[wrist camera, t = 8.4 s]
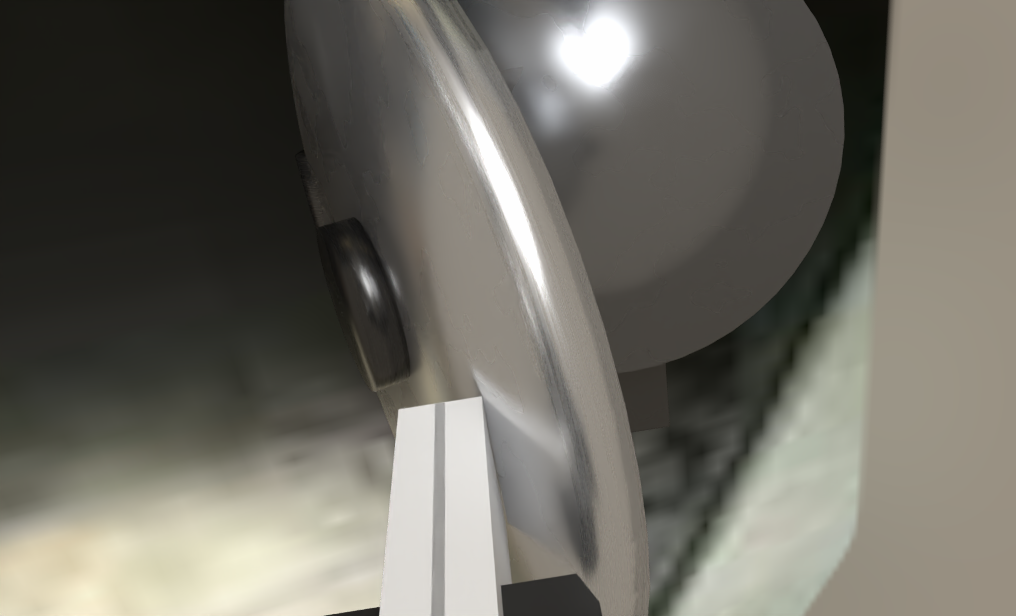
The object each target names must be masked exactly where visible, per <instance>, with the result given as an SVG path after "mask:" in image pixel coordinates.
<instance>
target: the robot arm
mask: <svg viewBox="0 0 1016 616" xmlns="http://www.w3.org/2000/svg"><path fill="white" fill-rule="evenodd" d="M326 616H602V612H601V607H600V603H599V601H598V600H597V598H596V597H595V596H594V595H593V593H592V592H591V591H590V590H589V588H588V587H587V586H586V585H585V583H584V582H583V581H582V580H581V578H580V577H579V576H578V575H577V573H576V574H570V575H563V576H557V577H551V578H545V579H538V580H532V581H526V582H520V583H514V584H512V579H511V569H510V559H509V549H508V539H507V529H506V522H505V517H504V511H503V506H502V501H501V496H500V490H499V485H498V480H497V474H496V469H495V464H494V459H493V453H492V448H491V443H490V437H489V432H488V427H487V422H486V416H485V411H484V406H483V401H482V396H481V397H474V398H468V399H462V400H456V401H450V402H442V403H436V404H430V405H423V406H417V407H411V408H405V409H399V411H398V421H397V432H396V442H395V453H394V464H393V474H392V485H391V495H390V506H389V517H388V527H387V538H386V548H385V559H384V570H383V580H382V591H381V602H380V607H376V608H370V609H364V610H357V611H351V612H345V613H338V614H332V615H326Z"/></svg>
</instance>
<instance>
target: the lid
mask: <svg viewBox="0 0 1016 616" xmlns="http://www.w3.org/2000/svg"><path fill="white" fill-rule="evenodd" d="M284 18H285V32H286V45H287V53H288V61H289V69H290V76H291V82H292V89H293V95H294V101H295V107H296V112H297V117H298V122H299V127H300V133H301V137H302V142H303V146H304V150H303V151H300V152H299V153H297V154H296V155H295V157H296V161H297V164H298V168H299V171H300V175H301V178H302V182H303V186H304V189H305V193H306V196H307V200H308V203H309V207H310V211H311V214H312V218H313V221H314V225H315V228H316V232H317V242H318V248H319V253H320V258H321V262H322V266H323V270H324V274H325V278H326V281H327V285H328V288H329V291H330V295H331V298H332V301H333V304H334V307H335V310H336V313H337V316H338V319H339V322H340V325H341V327H342V330H343V333H344V335H345V338H346V341H347V343H348V346H349V348H350V351H351V353H352V355H353V358H354V360H355V362H356V364H357V367H358V369H359V371H360V373H361V375H362V377H363V379H364V380H365V382H366V384H367V385H368V387H369V388H370V389H371V390H372V391H373V392H376V391H377V394H378V396H379V399H380V402H381V404H382V407H383V410H384V412H385V415H386V417H387V420H388V422H389V425H390V427H391V430H392V433H393V435H394V438H395V440H396V432H397V421H398V411H399V409H405V408H411V407H417V406H423V405H430V404H436V403H442V402H450V401H456V400H462V399H468V398H474V397H481V396H482V401H483V406H484V411H485V416H486V422H487V427H488V432H489V437H490V443H491V448H492V453H493V459H494V464H495V469H496V474H497V480H498V485H499V490H500V496H501V501H502V506H503V511H504V517H505V522H506V529H507V539H508V549H509V559H510V569H511V579H512V584H514V583H520V582H526V581H532V580H538V579H545V578H551V577H557V576H563V575H570V574H576V573H577V575H578V576H579V577H580V578H581V580H582V581H583V582H584V583H585V585H586V586H587V587H588V588H589V590H590V591H591V592H592V593H593V595H594V596H595V597H596V598H597V600H598V601H599V603H600V607H601V612H602V616H648V605H649V592H650V575H649V553H648V534H647V526H646V519H645V511H644V504H643V496H642V489H641V481H640V474H639V469H638V464H637V460H636V455H635V450H634V445H633V440H632V435H631V430H630V425H629V421H628V416H627V411H626V406H625V402H624V398H623V395H622V391H621V387H620V383H619V380H618V376H617V372H616V368H615V365H614V361H613V357H612V353H611V350H610V346H609V342H608V339H607V335H606V331H605V328H604V325H603V322H602V319H601V316H600V312H599V309H598V306H597V303H596V300H595V297H594V294H593V291H592V288H591V285H590V282H589V279H588V276H587V273H586V270H585V267H584V264H583V261H582V257H581V254H580V252H579V249H578V246H577V244H576V241H575V239H574V236H573V233H572V231H571V228H570V226H569V223H568V221H567V218H566V215H565V213H564V210H563V208H562V205H561V203H560V200H559V197H558V195H557V192H556V190H555V187H554V184H553V182H552V179H551V177H550V175H549V172H548V170H547V168H546V166H545V164H544V161H543V159H542V157H541V155H540V153H539V150H538V148H537V146H536V144H535V142H534V139H533V137H532V135H531V133H530V131H529V128H528V126H527V124H526V122H525V119H524V117H523V115H522V113H521V111H520V108H519V107H518V105H517V103H516V101H515V99H514V97H513V95H512V93H511V92H510V90H509V88H508V86H507V84H506V82H505V80H504V78H503V77H502V75H501V73H500V71H499V69H498V67H497V65H496V63H495V61H494V60H493V58H492V56H491V54H490V52H489V50H488V48H487V47H486V45H485V44H484V42H483V41H482V39H481V37H480V36H479V34H478V33H477V31H476V30H475V28H474V26H473V25H472V23H471V22H470V20H469V18H468V17H467V15H466V14H465V12H464V11H463V9H462V7H461V6H460V4H459V3H458V1H457V0H284Z"/></svg>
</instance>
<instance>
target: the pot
mask: <svg viewBox="0 0 1016 616" xmlns="http://www.w3.org/2000/svg"><path fill="white" fill-rule="evenodd" d="M457 1H458V3H459V4H460V6H461V7H462V9H463V11H464V12H465V14H466V15H467V17H468V18H469V20H470V22H471V23H472V25H473V26H474V28H475V30H476V31H477V33H478V34H479V36H480V37H481V39H482V41H483V42H484V44H485V45H486V47H487V48H488V50H489V52H490V54H491V56H492V58H493V60H494V61H495V63H496V65H497V67H498V69H499V71H500V73H501V75H502V77H503V78H504V80H505V82H506V84H507V86H508V88H509V90H510V92H511V93H512V95H513V97H514V99H515V101H516V103H517V105H518V107H519V108H520V111H521V113H522V115H523V117H524V119H525V122H526V124H527V126H528V128H529V131H530V133H531V135H532V137H533V139H534V142H535V144H536V146H537V148H538V150H539V153H540V155H541V157H542V159H543V161H544V164H545V166H546V168H547V170H548V172H549V175H550V177H551V179H552V182H553V184H554V187H555V190H556V192H557V195H558V197H559V200H560V203H561V205H562V208H563V210H564V213H565V215H566V218H567V221H568V223H569V226H570V228H571V231H572V233H573V236H574V239H575V241H576V244H577V246H578V249H579V252H580V254H581V257H582V261H583V264H584V267H585V270H586V273H587V276H588V279H589V282H590V285H591V288H592V291H593V294H594V297H595V300H596V303H597V306H598V309H599V312H600V316H601V319H602V322H603V325H604V328H605V331H606V335H607V339H608V342H609V346H610V350H611V353H612V357H613V361H614V365H615V368H616V372H617V376H618V380H619V383H620V387H621V391H622V395H623V398H624V402H625V406H626V411H627V416H628V421H629V425H630V430H631V432H636V431H643V430H649V429H655V428H662V427H668V426H670V422H669V407H668V393H667V378H666V364H665V363H667V362H670V361H673V360H676V359H679V358H682V357H684V356H686V355H688V354H691V353H693V352H695V351H697V350H699V349H702V348H704V347H706V346H708V345H710V344H711V343H713V342H715V341H716V340H718V339H720V338H721V337H723V336H725V335H726V334H728V333H730V332H732V331H733V330H734V329H736V328H737V327H738V326H740V325H741V324H742V323H744V322H745V321H746V320H748V319H749V318H750V317H752V316H753V315H754V314H755V313H756V312H757V311H758V310H760V309H761V308H762V307H763V306H764V305H765V304H766V303H767V302H768V301H769V300H770V299H771V298H772V297H773V296H774V295H775V294H776V293H777V292H778V291H779V290H780V289H781V287H782V286H783V285H784V284H785V283H786V282H787V280H788V279H789V278H790V277H791V276H792V275H793V273H794V272H795V271H796V269H797V268H798V266H799V265H800V263H801V262H802V260H803V259H804V257H805V256H806V254H807V253H808V251H809V250H810V248H811V246H812V244H813V242H814V240H815V239H816V237H817V235H818V233H819V231H820V229H821V227H822V225H823V223H824V221H825V218H826V215H827V213H828V210H829V207H830V205H831V202H832V199H833V197H834V193H835V189H836V185H837V181H838V177H839V173H840V169H841V162H842V153H843V144H844V106H843V100H842V94H841V88H840V81H839V76H838V73H837V70H836V66H835V63H834V60H833V57H832V53H831V50H830V47H829V45H828V43H827V41H826V39H825V37H824V35H823V33H822V31H821V29H820V26H819V24H818V22H817V20H816V19H815V17H814V16H813V14H812V13H811V11H810V10H809V8H808V7H807V5H806V4H805V3H804V1H803V0H457Z"/></svg>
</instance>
